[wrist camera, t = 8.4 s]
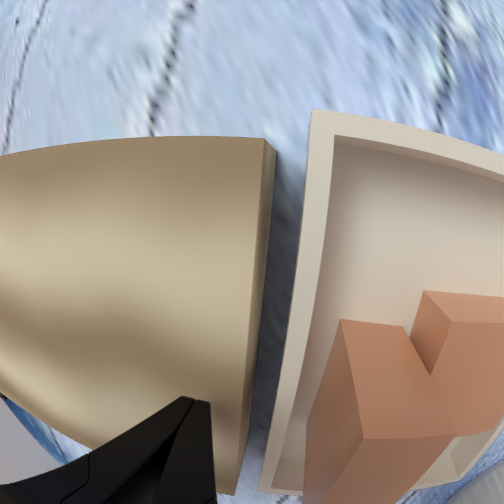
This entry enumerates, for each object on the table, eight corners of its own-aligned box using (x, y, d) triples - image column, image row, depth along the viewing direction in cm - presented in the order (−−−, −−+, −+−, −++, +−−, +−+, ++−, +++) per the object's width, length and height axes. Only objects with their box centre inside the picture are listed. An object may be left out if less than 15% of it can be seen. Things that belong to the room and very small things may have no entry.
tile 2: (392, 445, 8) (382, 404, 11) (492, 429, 8) (474, 397, 10) (451, 321, 7) (423, 290, 9) (550, 322, 6) (518, 298, 8)
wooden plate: (246, 444, 13) (234, 495, 10) (21, 362, 15) (-8, 385, 12) (276, 151, 9) (264, 138, 6) (-11, 164, 12) (-54, 170, 8)
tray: (450, 452, 12) (460, 480, 9) (263, 456, 13) (257, 491, 11) (552, 190, 7) (587, 197, 5) (308, 124, 9) (312, 109, 7)
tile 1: (306, 421, 11) (358, 425, 11) (300, 526, 6) (369, 525, 6) (339, 318, 10) (401, 326, 10) (363, 438, 5) (457, 433, 4)
